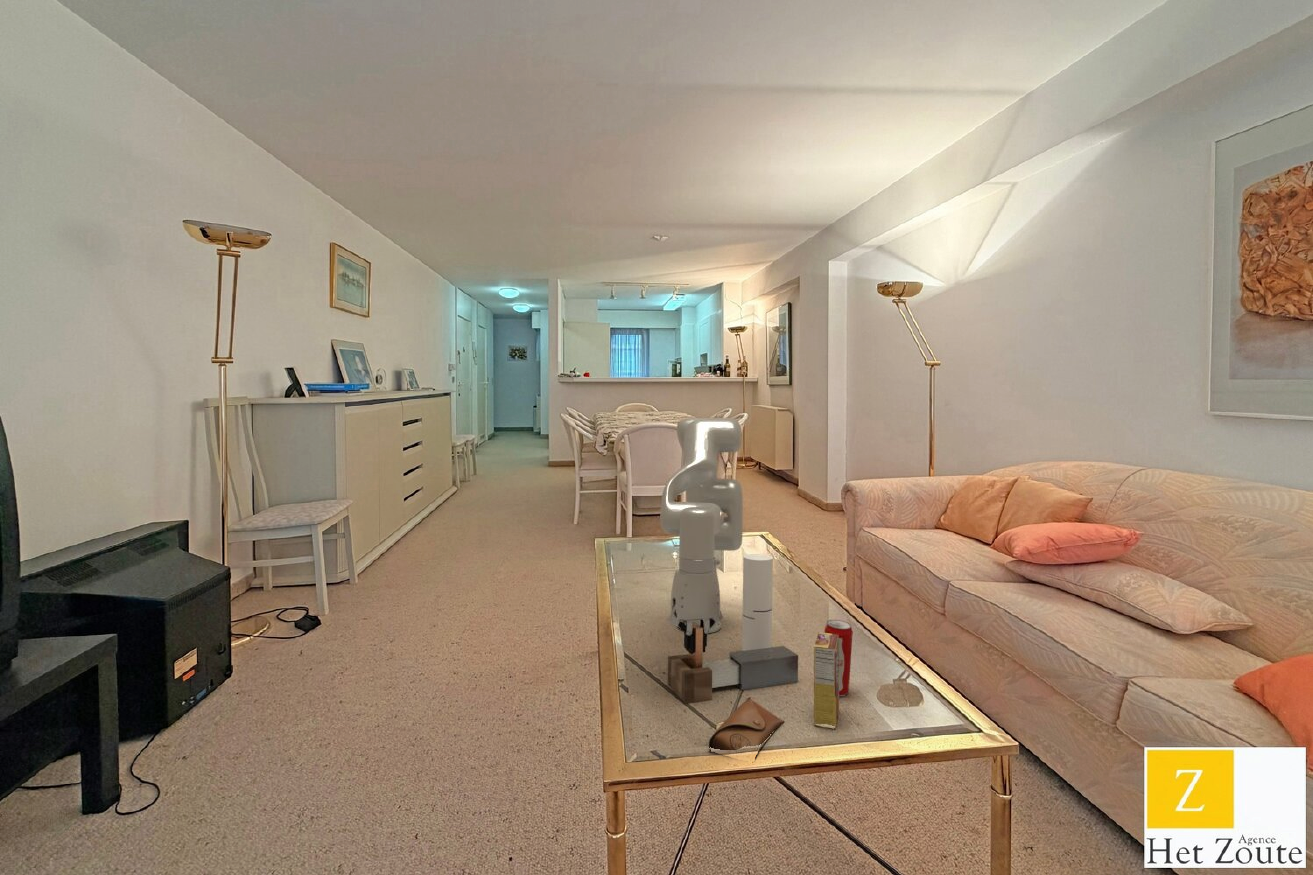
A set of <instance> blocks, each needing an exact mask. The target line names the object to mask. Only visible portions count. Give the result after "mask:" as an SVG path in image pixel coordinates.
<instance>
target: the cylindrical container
mask: <svg viewBox="0 0 1313 875" xmlns="http://www.w3.org/2000/svg"><path fill="white" fill-rule="evenodd" d="M773 558H774V557H773V556H771V555H767V554H761V553H760V554H759V553H752V554H745V555H743V562H742V566H743V568H742V569H743V570H742V628H741V630H742V631H741V633H742V634H741V636H742V637H741V645H742V646H741V651H747V650H755V649H763V648H771V647H772V644H773V643H772V642H773V641H772V640H773V638H772V636H773V635H772V632H773V578H774V577H773V572H774V570H773V567H774V566H773V565H774V564H773V563H774V562H773V561H774V559H773Z"/></svg>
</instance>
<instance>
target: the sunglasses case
mask: <svg viewBox="0 0 1313 875" xmlns="http://www.w3.org/2000/svg"><path fill="white" fill-rule="evenodd" d="M784 723H785V720H783V719H781V718H779V717H778V716H776V715H775V714H773V713H772V712H771V711H769V710H767V708H765V707H763V706H761V704H759V703H757V702H756V701H755V700H753V699H752V697H751V696H749V697H748V698H746V700H745V701H744V702H743V703H742V704H740V705H739V706H738V707H737V708H736V709H735V710H734V711H733V712H732V713H731V714H730V715H729V716H728V717H727V718H726V720H725V721H723V723H721V725H720V726H719V727H718V728H717V730H716V731H715V732H714V733H713V734H712V735H711V736H710V738H709V741H708V749H709V748H710V747H711V748H714V749H720V750H737V749H740V748H742V747H744V746H746V747H747V746H756V745H760V744H762V743H763V742H764V741H765V740H766V739H767V738H768V737H769V736H770V734H772V732H773V731H775V732H776V730H777V729H779V727H780V726H782V725H783V724H784ZM781 724H782V725H781ZM776 728H777V729H776ZM775 729H776V730H775ZM772 735H773V734H772Z"/></svg>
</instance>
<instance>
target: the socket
mask: <svg viewBox="0 0 1313 875" xmlns="http://www.w3.org/2000/svg"><path fill="white" fill-rule="evenodd" d="M667 657H668V658H667V685H668V686H669V687H670V688H671V690H673V691H674V692H675V694H676V695H677V696H678V697H679V698H680V700H682V702H683V704H691V703H698V702H699V703H700V702H704V701H705V702H706V701H711V700H713V688H712V670H711V669H710V668H709V667H705V668H697V669H690V668H689V667H688V653H685V654H679V655H678V654H677V655H670V656H667Z"/></svg>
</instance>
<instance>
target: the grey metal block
mask: <svg viewBox="0 0 1313 875" xmlns="http://www.w3.org/2000/svg"><path fill="white" fill-rule="evenodd" d="M733 658H734V659H735V660H736V661H737V662H739V663H740V664H741V684H735V686H736V687H737V688H739V689H740V690H741V691H746V690H753V689H754V690H755V689H759V688H767V687H773V686H774V687H775V686H780V685H787V684H794V683H798V682H799V681H798V680H799V654H798V653H796V652H794V651H792V650H791V649H789V648H788V647H786V646H784V645H782V646H781V645H779V646H774V647H771V648H763V649H755V650H747V651H742V650H740V651H731V652H729V658H728V659H733Z"/></svg>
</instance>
